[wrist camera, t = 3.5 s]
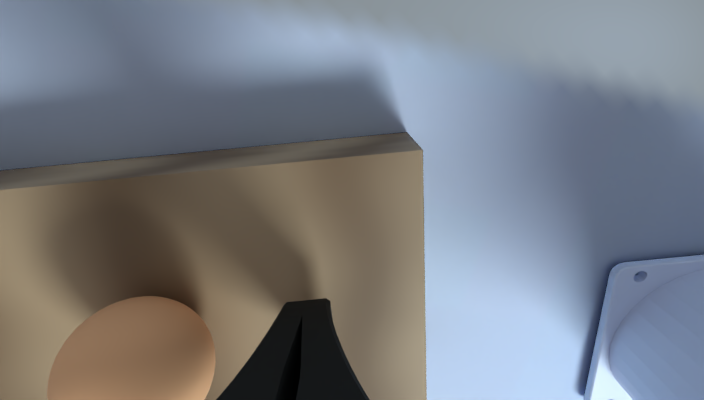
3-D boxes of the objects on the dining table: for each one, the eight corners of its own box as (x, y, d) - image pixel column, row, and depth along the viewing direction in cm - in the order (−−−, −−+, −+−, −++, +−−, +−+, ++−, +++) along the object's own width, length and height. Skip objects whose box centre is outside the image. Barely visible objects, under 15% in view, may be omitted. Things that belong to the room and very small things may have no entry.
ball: (216, 264, 11) (158, 364, 8) (241, 361, 13) (204, 485, 9) (87, 276, 11) (-32, 383, 8) (128, 372, 13) (44, 501, 9)
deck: (406, 132, 13) (422, 150, 10) (413, 354, 16) (426, 404, 14) (-293, 198, 13) (-435, 231, 10) (-126, 407, 16) (-203, 466, 14)
